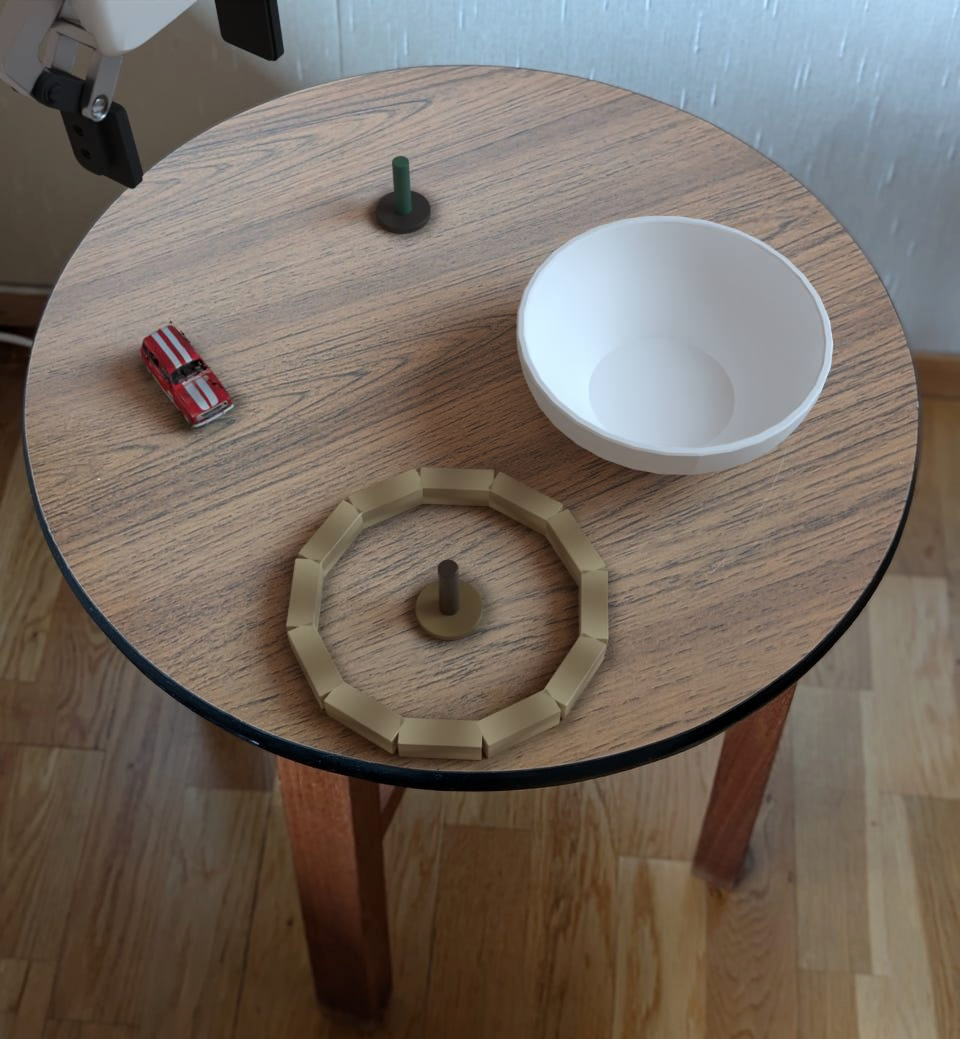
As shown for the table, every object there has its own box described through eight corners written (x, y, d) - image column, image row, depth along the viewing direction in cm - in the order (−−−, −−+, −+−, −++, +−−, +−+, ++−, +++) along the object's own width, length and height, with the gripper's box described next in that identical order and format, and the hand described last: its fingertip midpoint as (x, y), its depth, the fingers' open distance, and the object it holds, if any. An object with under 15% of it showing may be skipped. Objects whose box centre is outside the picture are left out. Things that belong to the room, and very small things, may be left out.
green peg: (410, 241, 96) (408, 189, 92) (365, 219, 97) (360, 167, 93) (441, 208, 98) (440, 155, 94) (396, 187, 99) (393, 134, 95)
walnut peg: (459, 652, 78) (458, 610, 74) (402, 619, 79) (398, 577, 75) (495, 602, 80) (496, 558, 76) (439, 571, 81) (438, 526, 77)
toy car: (194, 437, 87) (185, 407, 84) (135, 360, 90) (125, 328, 87) (242, 411, 88) (235, 381, 85) (182, 336, 91) (174, 304, 89)
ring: (498, 819, 73) (499, 807, 71) (229, 655, 78) (224, 640, 76) (661, 572, 81) (664, 556, 80) (408, 439, 87) (406, 422, 85)
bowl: (777, 282, 94) (798, 206, 88) (838, 512, 84) (866, 445, 78) (501, 296, 93) (503, 221, 87) (527, 531, 83) (531, 464, 77)
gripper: (172, -430, 50) (239, -22, 64) (-186, -221, 42) (-17, 192, 56) (336, -379, 47) (368, 32, 62) (-8, -147, 39) (120, 263, 54)
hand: (185, 108), depth 59 cm, fingers open, 9 cm apart
